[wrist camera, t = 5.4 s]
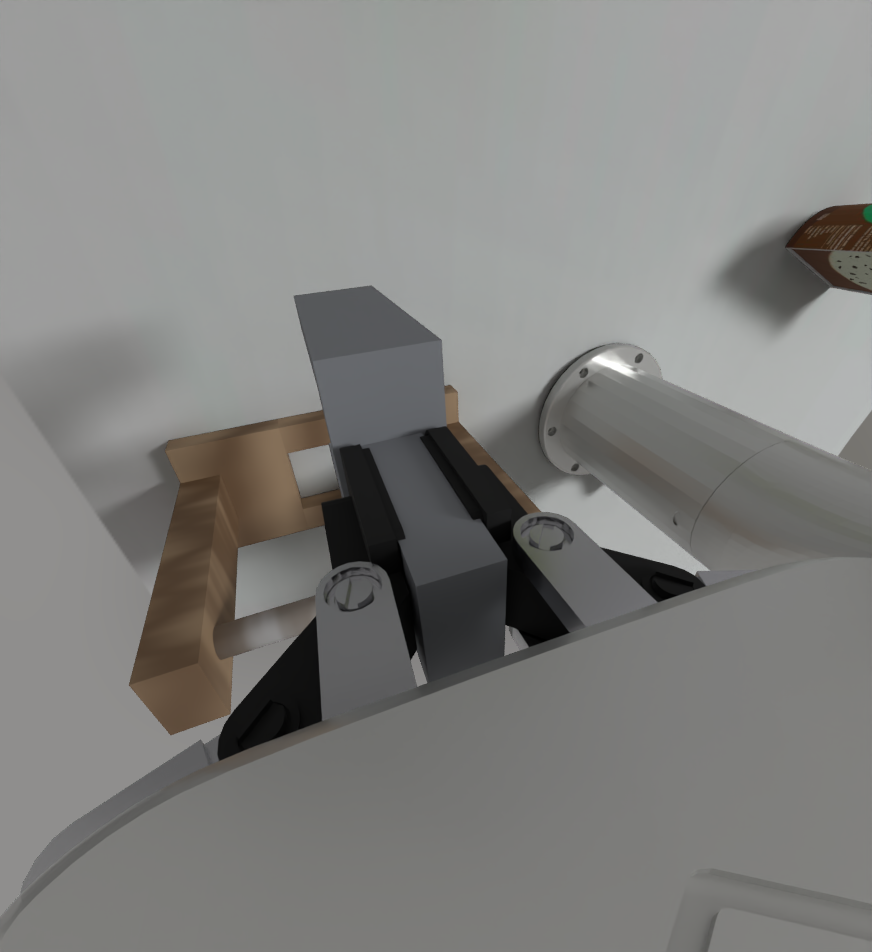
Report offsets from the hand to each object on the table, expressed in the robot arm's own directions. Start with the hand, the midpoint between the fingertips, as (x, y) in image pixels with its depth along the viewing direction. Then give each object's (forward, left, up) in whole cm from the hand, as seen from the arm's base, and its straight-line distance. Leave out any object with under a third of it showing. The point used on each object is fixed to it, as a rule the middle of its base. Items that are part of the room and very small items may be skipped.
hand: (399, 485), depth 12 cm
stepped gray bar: (0, 0, -9) cm, 9 cm away
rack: (-8, +7, -20) cm, 23 cm away
